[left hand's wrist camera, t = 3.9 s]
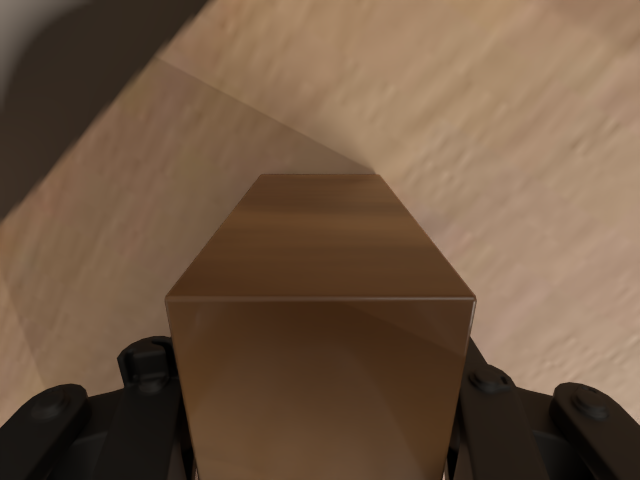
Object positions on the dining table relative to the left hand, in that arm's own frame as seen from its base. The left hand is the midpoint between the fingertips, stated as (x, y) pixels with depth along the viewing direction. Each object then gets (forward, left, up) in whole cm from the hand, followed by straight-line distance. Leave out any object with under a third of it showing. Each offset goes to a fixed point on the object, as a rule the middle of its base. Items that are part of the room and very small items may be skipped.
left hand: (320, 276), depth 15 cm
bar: (+4, +7, -1) cm, 8 cm away
